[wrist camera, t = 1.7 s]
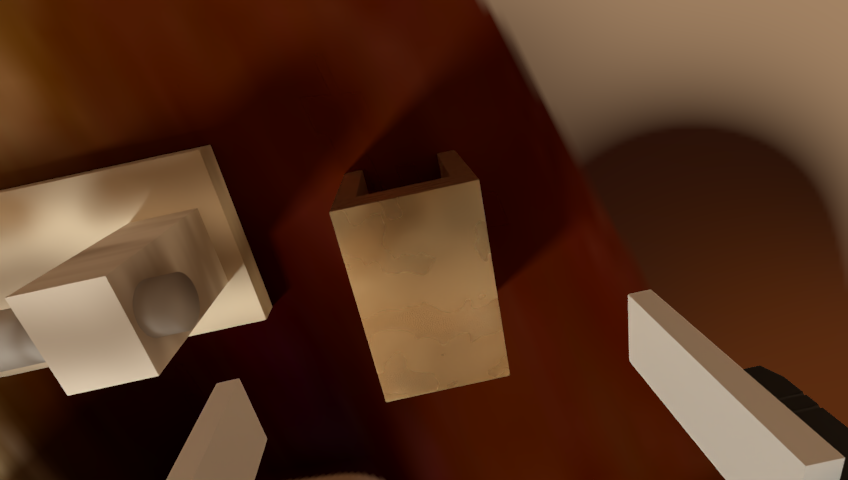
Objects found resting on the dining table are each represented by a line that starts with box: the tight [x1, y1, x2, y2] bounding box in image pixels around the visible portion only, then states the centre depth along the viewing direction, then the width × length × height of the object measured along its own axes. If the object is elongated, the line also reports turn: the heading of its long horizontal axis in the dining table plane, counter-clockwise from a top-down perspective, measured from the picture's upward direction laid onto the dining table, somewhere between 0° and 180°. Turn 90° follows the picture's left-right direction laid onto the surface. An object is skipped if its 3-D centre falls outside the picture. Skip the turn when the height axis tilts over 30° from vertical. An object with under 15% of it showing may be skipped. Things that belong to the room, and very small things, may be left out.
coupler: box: [329, 150, 510, 402], centre depth 23 cm, size 6×10×7 cm, turn 12°
